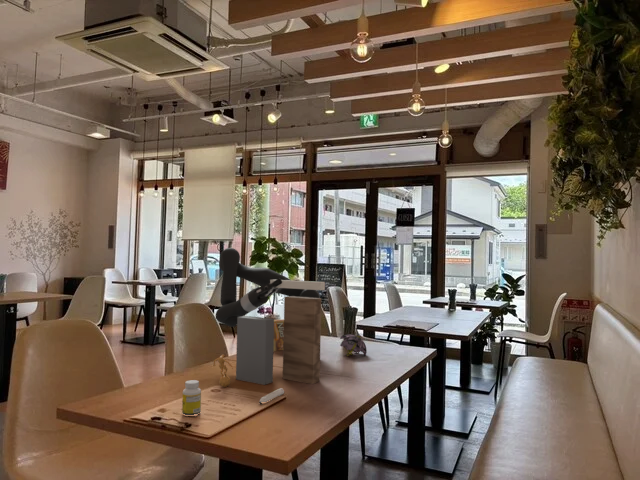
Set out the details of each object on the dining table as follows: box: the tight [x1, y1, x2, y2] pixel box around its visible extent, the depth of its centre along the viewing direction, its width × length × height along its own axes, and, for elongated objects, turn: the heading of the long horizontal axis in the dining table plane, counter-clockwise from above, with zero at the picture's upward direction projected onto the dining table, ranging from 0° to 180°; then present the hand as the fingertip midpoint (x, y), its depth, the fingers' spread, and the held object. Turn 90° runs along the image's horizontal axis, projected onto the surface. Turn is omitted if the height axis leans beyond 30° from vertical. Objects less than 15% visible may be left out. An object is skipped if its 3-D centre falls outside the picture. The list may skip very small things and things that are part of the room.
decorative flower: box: [339, 333, 368, 357], centre depth 239 cm, size 14×12×15 cm
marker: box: [258, 387, 285, 403], centre depth 163 cm, size 3×2×16 cm
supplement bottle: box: [181, 379, 202, 415], centre depth 146 cm, size 5×5×10 cm
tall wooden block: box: [282, 296, 322, 385], centre depth 190 cm, size 5×14×32 cm, turn 59°
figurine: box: [213, 354, 234, 388], centre depth 177 cm, size 8×6×12 cm
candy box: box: [273, 318, 284, 352], centre depth 250 cm, size 9×4×15 cm, turn 129°
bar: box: [270, 279, 326, 291], centre depth 193 cm, size 3×24×3 cm, turn 59°
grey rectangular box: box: [235, 315, 275, 386], centre depth 188 cm, size 5×14×24 cm, turn 59°
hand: (283, 280), depth 196 cm, fingers closed on bar, 3 cm apart
